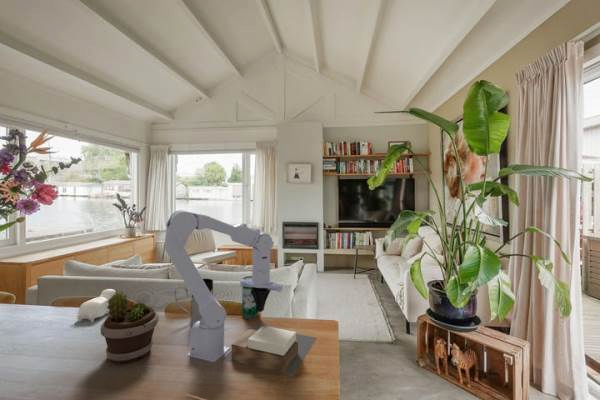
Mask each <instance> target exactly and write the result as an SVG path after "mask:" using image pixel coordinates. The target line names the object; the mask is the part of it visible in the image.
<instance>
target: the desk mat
mask: <svg viewBox="0 0 600 400" xmlns="http://www.w3.org/2000/svg"><path fill="white" fill-rule="evenodd" d="M261 327H262V326H257V327H256V328H255V329H254V330H257V331H258V330H259V329H260V328H261ZM296 340H298V355H297V356H296V358H295V359H294V361H293V362H292V364H291V365H290V367H289V368H288V370H287V371H286V372H285V373H281V372H277V371H272V370H268V369H264V368H260V367H256V366H252V365H248V364H244V363H240V362H236V361H232V360H231V358H232V349H231V350H230V351H228V353H226V355H224V356H223V357H222V358H221V360H223V361H227V362H232V363H235V364H238V365H242V366H243V365H244V366H247V367H252V368H256V369H258V370H264V371H267V372H270V373H276V374H279V375H284V376H288V377H292V378H293V377H294V376H295V374H296V373H297V372H298V369H299V368H300V366H301V364H302V363H303V362H304V361H305V360H304V359H305V358H306V357H307V355H308V353H309V351H310V350H311V348H312V346H313V345H314V344H315V341H316V340H317V337H314V336H309V335H304V334H299V333H296Z"/></svg>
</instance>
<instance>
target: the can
mask: <svg viewBox="0 0 600 400" xmlns="http://www.w3.org/2000/svg"><path fill="white" fill-rule="evenodd" d="M243 279H245V280H252V275H247V276H243V278H242V280H243ZM252 289H253V287H245V286H244V287H242V289H241V290H242V291H241V292H242V296H241V297H242V301H241V303H242V304H241V305H242V306H241V311H242V312H241V316H242V318H243V319H246V320H253V319H256V318H258V317H259V312H258V311H257V307H256V303H255V300H254V298H253V296H252V294H251V290H252Z"/></svg>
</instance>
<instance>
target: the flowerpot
mask: <svg viewBox="0 0 600 400" xmlns="http://www.w3.org/2000/svg"><path fill="white" fill-rule="evenodd" d="M114 293H115V294H116V295H115V294H114ZM114 293H113V294H114V295H113V296H112V295H111V298H109V299H107V300H108V301H109V302H108V301H107V303H109V305H108V306H106V307H108V310H109V312H106V313H105V315H107V317H106V318H105V320H104V321H103V322H102V323H101V325H100V328H99V329H100V331H99V332H100V334H101V336H102V337H104V339H105V343H106V346H107V347H106V348H105V352H106V357H107V358H108V359H109V360H110V361H111V362H112V363H115V364H129V363H130V362H135V361H137V360H139V359H141V358H144V357H145V356H146V355H148V354H149V352H150V350H152V346H153V345H154V337H153V335H154V331H155V327H156V326H157V325H158V322H159V314H158V312H157V311H155V309H154V308H153V307H151V306H148V305H147V303H145V302H144V301H142V300H140V299H139V300H138V299H137V301H134V302H133V305H131V304H129V302H130V299H129V298H128V296H129V294H127V293H125V291H123V290H120V291H118V290H117V289H116V288H115V292H114ZM124 293H125V294H124ZM130 306H131V307H130ZM106 307H105V308H106Z"/></svg>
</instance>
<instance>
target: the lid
mask: <svg viewBox="0 0 600 400" xmlns="http://www.w3.org/2000/svg"><path fill="white" fill-rule="evenodd" d="M260 327H261V328H260V329H259V330H258V331H256V332H255V333H254V334H253V335H252V336H251V337H250V338H249V339H248V348H252V349H256V350H261V351H265V352H269V353H274V354H278V355H283V356H284V355H285V354H286V352H287V351H288V350H289V348H290V347H291V346H292V344H293V343H294V342H295V341H296V334H297V332H296V331H293V330H287V329H283V328H277V327H272V326H266V325H262V326H260Z"/></svg>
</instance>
